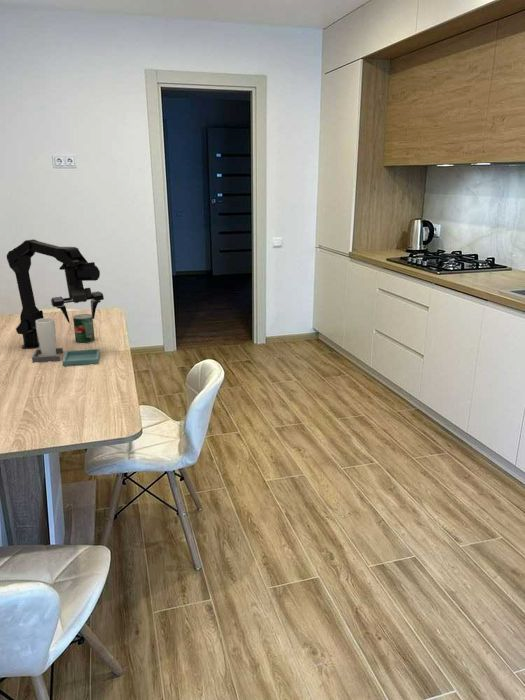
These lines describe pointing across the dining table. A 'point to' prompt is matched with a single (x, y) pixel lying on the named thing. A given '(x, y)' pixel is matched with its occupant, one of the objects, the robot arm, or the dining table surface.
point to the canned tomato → (83, 328)
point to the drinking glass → (46, 336)
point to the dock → (46, 358)
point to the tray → (81, 357)
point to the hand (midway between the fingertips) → (81, 320)
